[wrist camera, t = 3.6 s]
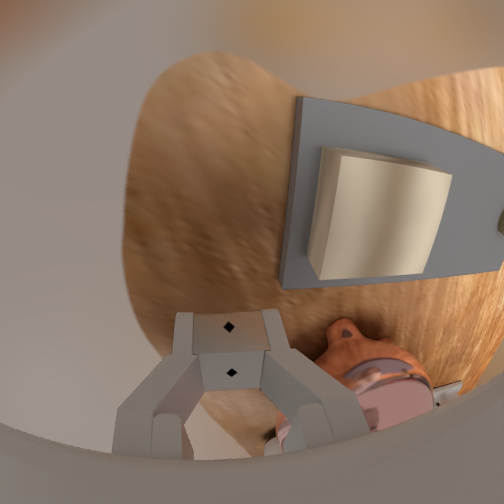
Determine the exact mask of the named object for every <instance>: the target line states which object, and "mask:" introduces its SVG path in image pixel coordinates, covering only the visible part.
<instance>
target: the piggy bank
mask: <svg viewBox="0 0 504 504" xmlns="http://www.w3.org/2000/svg"><path fill="white" fill-rule="evenodd" d="M326 337H327V341H328V349H327V350H326V351H325V352H324V353H323V354H322V355H321V356H320V357H318V358H317V359H316V360H315V361H313V363H315V364H316V365H317V366H319V367H320V368H321V369H323V370H324V371H325V372H327V373H328V374H329V375H331V376H332V377H333V378H335V379H336V380H337V381H339V382H340V383H341V384H343V385H344V386H345V387H347V388H348V389H349V390H351V391H352V392H354V393H355V394H356V397H357V399H358V402H359V404H360V406H361V409H362V411H363V414H364V416H365V419H366V421H367V424H368V426H369V429H370V432H371V433H373V432H376V431H379V430H382V429H385V428H388V427H390V426H393V425H396V424H399V423H401V422H404V421H406V420H409V419H411V418H414V417H416V416H419V415H421V414H423V413H426V412H428V411H430V410H432V409H433V408H434V393H433V387H432V383H431V380H430V377H429V375H428V373H427V371H426V369H425V368H424V366H423V365H422V364H421V362H420V361H419V360H418V359H417V358H416V357H415V356H413V355H412V354H411V353H410V352H408V351H407V350H405V349H403V348H401V347H399V346H397V345H394V344H392V341H391V339H390V338H388V337H384V338H381V339H379V340H373V339H369V338H366V337H364V336H363V335H362V333H361V332H360V331H359V329H358V328H357V327H356V325H355V324H354V322H353V321H352V320H351V319H348V318H341V319H338V320H336V321H335V322H333V323H332V324H331V325H330V326H329V327H328V329H327V331H326ZM291 425H292V423H291V422H290V421H289V420H288V419H287V418H286V417H285V416H284V415H283V414H282V413H281V411H280V410H279V409H278V412H277V417H276V436H277V441H278V444H279V447H280V449H281V451H282V453H285V450H284V445H283V442H284V440H285V438H286V436H287V434H288V431H289V429H290V427H291Z"/></svg>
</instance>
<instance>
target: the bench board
mask: <svg viewBox="0 0 504 504" xmlns="http://www.w3.org/2000/svg"><path fill="white" fill-rule="evenodd" d="M322 146H328V147H337V148H345V149H352V150H360V151H366V152H373V153H379V154H385V155H391V156H396V157H402V158H407V159H412V160H417V161H421V162H426V163H429V164H431V165H433V166H435V167H437V168H439V169H442V170H444V171H446V172H448V173H450V174H452V175H453V176H452V180H451V184H450V188H449V192H448V196H447V200H446V204H445V207H444V211H443V214H442V218H441V221H440V224H439V228H438V231H437V234H436V237H435V240H434V243H433V246H432V249H431V252H430V254H429V257H428V260H427V263H426V265H425V268H424V270H423V273H419V274H407V275H394V276H380V277H365V278H348V279H331V280H319V279H318V277H317V275H316V273H315V271H314V269H313V267H312V265H311V263H310V262H309V260H308V258H307V250H308V244H309V238H310V232H311V225H312V219H313V212H314V206H315V199H316V191H317V184H318V177H319V169H320V161H321V152H322ZM503 210H504V154H502V153H500V152H498V151H496V150H493V149H491V148H489V147H487V146H485V145H482V144H480V143H478V142H475V141H473V140H470V139H468V138H465V137H463V136H460V135H458V134H455V133H452V132H450V131H447V130H444V129H441V128H438V127H435V126H432V125H429V124H426V123H423V122H420V121H416V120H413V119H410V118H406V117H403V116H399V115H395V114H391V113H387V112H383V111H379V110H375V109H371V108H366V107H361V106H357V105H352V104H346V103H341V102H335V101H329V100H323V99H316V98H309V97H297V100H296V113H295V125H294V137H293V148H292V159H291V169H290V179H289V189H288V199H287V208H286V218H285V227H284V235H283V244H282V252H281V261H280V269H279V277H278V279H279V282H280V285H281V288H282V290H285V289H305V288H322V287H338V286H353V285H366V284H379V283H391V282H402V281H413V280H423V279H432V278H442V277H451V276H459V275H468V274H476V273H484V272H491V271H498V270H500V267H501V265H502V263H503V260H504V235H502V234H501V233H500V232H499V231H498V221H499V218H500V215H501V213H502V212H503Z"/></svg>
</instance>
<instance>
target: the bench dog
mask: <svg viewBox="0 0 504 504" xmlns="http://www.w3.org/2000/svg"><path fill="white" fill-rule="evenodd" d="M498 231H499V232H500V233H501V234H502V235H504V210H503V212H502V213H501V215H500V218H499V221H498Z"/></svg>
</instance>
